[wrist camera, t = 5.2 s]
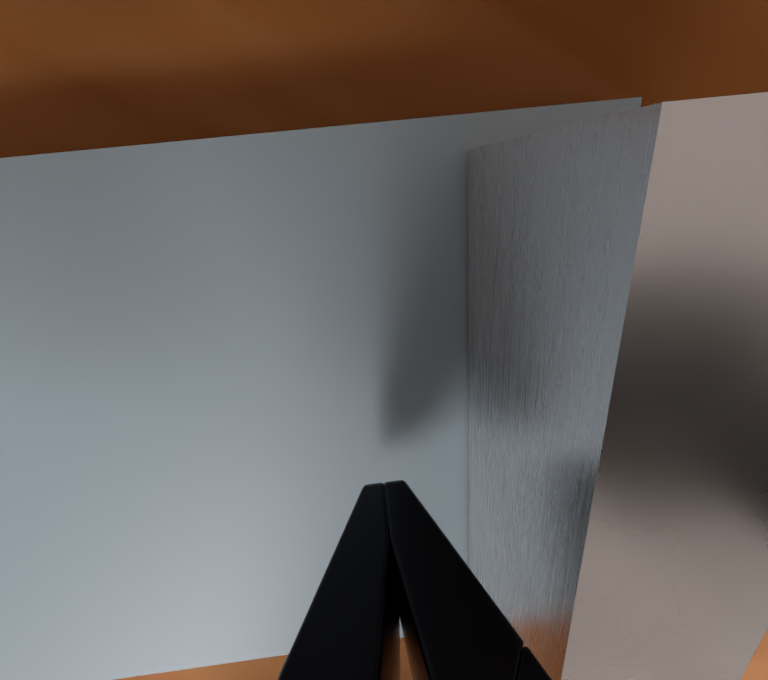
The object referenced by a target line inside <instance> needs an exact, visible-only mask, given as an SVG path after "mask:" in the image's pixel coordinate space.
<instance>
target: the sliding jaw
mask: <svg viewBox="0 0 768 680" xmlns="http://www.w3.org/2000/svg"><path fill="white" fill-rule="evenodd" d="M468 285H469V568H470V570H471V571H472V572H473V574H474V575H475V576H476V578H477V579H478V580H479V582H480V583H481V584H482V586H483V587H484V589H485V590H486V591H487V593H488V594H489V595H490V597H491V598H492V599H493V601H494V602H495V603H496V605H497V606H498V608H499V609H500V610H501V612H502V613H503V614H504V616H505V617H506V618H507V620H508V621H509V622H510V624H511V625H512V627H513V628H514V629H515V631H516V632H517V633H518V635H519V636H520V637H521V639H522V640H523V643H524V645H523V647H525V646H526V647H528V648H529V649H530V651H531V652H532V653H533V655H534V656H535V657H536V659H537V660H538V661H539V663H540V664H541V665H542V667H543V668H544V669H545V671H546V672H547V674H548V675H549V676H550V677H551V679H552V680H741V678H742V676H743V674H744V672H745V670H746V668H747V666H748V664H749V662H750V661H751V659H752V657H753V655H754V653H755V651H756V649H757V647H758V645H759V643H760V641H761V639H762V638H763V636H764V634H765V632H766V630H767V628H768V92H762V93H752V94H741V95H731V96H720V97H710V98H699V99H689V100H679V101H668V102H661V103H657V104H652V105H648V106H644V107H640V108H636V109H632V110H628V111H624V112H620V113H616V114H612V115H608V116H604V117H599V118H595V119H591V120H587V121H583V122H579V123H575V124H571V125H567V126H563V127H559V128H555V129H550V130H546V131H542V132H538V133H534V134H530V135H526V136H522V137H518V138H514V139H510V140H506V141H502V142H497V143H493V144H489V145H485V146H481V147H477V148H473V149H469V150H468Z"/></svg>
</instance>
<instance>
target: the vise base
mask: <svg viewBox="0 0 768 680" xmlns="http://www.w3.org/2000/svg"><path fill="white" fill-rule="evenodd" d="M641 102H642V97H635V98H625V99H614V100H604V101H593V102H583V103H572V104H562V105H551V106H541V107H530V108H520V109H509V110H499V111H488V112H478V113H467V114H457V115H446V116H436V117H425V118H415V119H405V120H394V121H384V122H373V123H363V124H352V125H342V126H331V127H321V128H310V129H300V130H289V131H279V132H268V133H258V134H247V135H237V136H226V137H216V138H205V139H195V140H184V141H174V142H163V143H153V144H142V145H132V146H121V147H111V148H100V149H90V150H79V151H69V152H58V153H48V154H37V155H27V156H16V157H6V158H0V680H113V679H120V678H127V677H134V676H141V675H148V674H155V673H162V672H169V671H176V670H183V669H190V668H197V667H204V666H211V665H218V664H225V663H232V662H239V661H246V660H253V659H260V658H267V657H274V656H281V655H288V654H289V652H290V650H291V648H292V645H293V643H294V641H295V639H296V636H297V634H298V632H299V630H300V627H301V625H302V623H303V621H304V618H305V616H306V614H307V612H308V609H309V607H310V605H311V603H312V600H313V598H314V596H315V594H316V591H317V589H318V587H319V585H320V582H321V580H322V578H323V576H324V573H325V571H326V569H327V567H328V564H329V562H330V560H331V558H332V555H333V553H334V551H335V549H336V546H337V544H338V542H339V540H340V537H341V535H342V533H343V531H344V528H345V526H346V524H347V522H348V519H349V517H350V515H351V513H352V510H353V508H354V506H355V504H356V501H357V499H358V497H359V495H360V492H361V490H362V488H363V487H364V486H365V485H367V484H374V483H385V482H389V481H397V480H404V481H405V482H406V483H407V484H408V485H409V487H410V488H411V490H412V491H413V492H414V494H415V495H416V496H417V498H418V499H419V500H420V502H421V503H422V504H423V506H424V507H425V509H426V510H427V511H428V513H429V514H430V515H431V517H432V518H433V519H434V521H435V522H436V523H437V525H438V526H439V528H440V529H441V530H442V532H443V533H444V534H445V536H446V537H447V538H448V540H449V541H450V542H451V544H452V545H453V546H454V548H455V549H456V551H457V552H458V553H459V555H460V556H461V557H462V559H463V560H464V561H465V563H466V564H467V565H468V567H469V285H468V150H469V149H473V148H477V147H481V146H485V145H489V144H493V143H497V142H502V141H506V140H510V139H514V138H518V137H522V136H526V135H530V134H534V133H538V132H542V131H546V130H550V129H555V128H559V127H563V126H567V125H571V124H575V123H579V122H583V121H587V120H591V119H595V118H599V117H604V116H608V115H612V114H616V113H620V112H624V111H628V110H632V109H636V108H640V107H641ZM400 638H404V636H403V631H402V627H401V622H400Z"/></svg>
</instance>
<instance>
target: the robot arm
mask: <svg viewBox="0 0 768 680" xmlns="http://www.w3.org/2000/svg"><path fill="white" fill-rule="evenodd" d="M400 622H401V627H402V631H403V636H404V640H405V645H406V649H407V654H408V658H409V663H410V667H411V672H412V677H413V680H552V679H551V677H550V676H549V675H548V674H547V672H546V671H545V669H544V668H543V667H542V665H541V664H540V663H539V661H538V660H537V659H536V657H535V656H534V655H533V653H532V652H531V651H530V649H529V648H528V647H526V646H525V647H523V645H524V643H523V640H522V639H521V637H520V636H519V635H518V633H517V632H516V631H515V629H514V628H513V627H512V625H511V624H510V622H509V621H508V620H507V618H506V617H505V616H504V614H503V613H502V612H501V610H500V609H499V608H498V606H497V605H496V603H495V602H494V601H493V599H492V598H491V597H490V595H489V594H488V593H487V591H486V590H485V589H484V587H483V586H482V584H481V583H480V582H479V580H478V579H477V578H476V576H475V575H474V574H473V572H472V571H471V570H470V568H469V567H468V565H467V564H466V563H465V561H464V560H463V559H462V557H461V556H460V555H459V553H458V552H457V551H456V549H455V548H454V546H453V545H452V544H451V542H450V541H449V540H448V538H447V537H446V536H445V534H444V533H443V532H442V530H441V529H440V528H439V526H438V525H437V523H436V522H435V521H434V519H433V518H432V517H431V515H430V514H429V513H428V511H427V510H426V509H425V507H424V506H423V504H422V503H421V502H420V500H419V499H418V498H417V496H416V495H415V494H414V492H413V491H412V490H411V488H410V487H409V485H408V484H407V483H406V482H405V481H404V480H397V481H389V482H385V483H374V484H367V485H365V486H364V487H363V488H362V490H361V492H360V495H359V497H358V499H357V501H356V504H355V506H354V508H353V510H352V513H351V515H350V517H349V519H348V522H347V524H346V526H345V528H344V531H343V533H342V535H341V537H340V540H339V542H338V544H337V546H336V549H335V551H334V553H333V555H332V558H331V560H330V562H329V564H328V567H327V569H326V571H325V573H324V576H323V578H322V580H321V582H320V585H319V587H318V589H317V591H316V594H315V596H314V598H313V600H312V603H311V605H310V607H309V609H308V612H307V614H306V616H305V618H304V621H303V623H302V625H301V627H300V630H299V632H298V634H297V636H296V639H295V641H294V643H293V645H292V648H291V650H290V652H289V654H288V657H287V659H286V661H285V663H284V666H283V668H282V670H281V672H280V675H279V677H278V680H400Z"/></svg>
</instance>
